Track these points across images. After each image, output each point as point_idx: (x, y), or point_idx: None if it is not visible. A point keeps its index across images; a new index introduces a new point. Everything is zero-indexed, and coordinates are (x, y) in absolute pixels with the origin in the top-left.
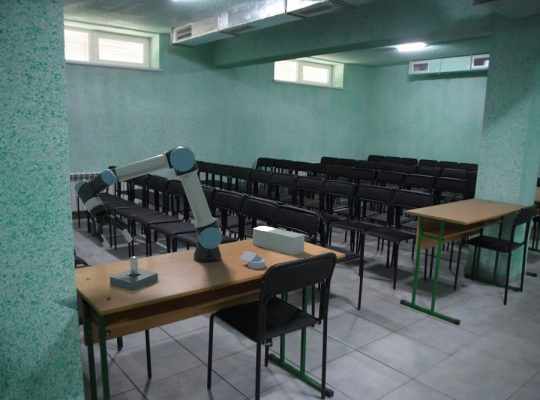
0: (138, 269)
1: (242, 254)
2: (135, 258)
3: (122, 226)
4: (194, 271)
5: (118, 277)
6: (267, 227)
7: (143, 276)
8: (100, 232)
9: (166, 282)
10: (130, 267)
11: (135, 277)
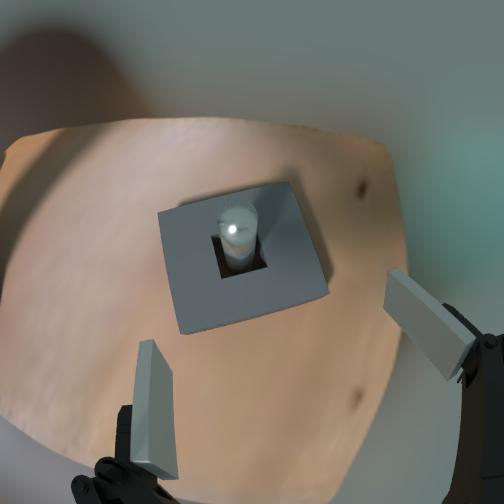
0: (186, 303)
1: None
2: (237, 199)
3: (154, 499)
4: (49, 226)
5: (305, 263)
6: None
7: None
8: (485, 359)
9: (159, 191)
10: (255, 241)
11: None
